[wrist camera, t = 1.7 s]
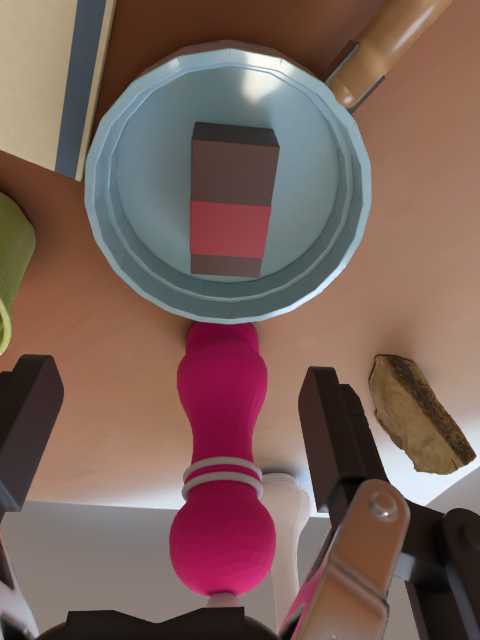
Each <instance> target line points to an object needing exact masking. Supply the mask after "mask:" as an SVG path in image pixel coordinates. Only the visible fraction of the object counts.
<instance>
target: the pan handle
mask: <svg viewBox="0 0 480 640" xmlns="http://www.w3.org/2000/svg"><path fill="white" fill-rule="evenodd" d="M452 1H453V0H386V1H385V3H384V4H383V5H382V6H381V7H380V9H379V10H378V11H377V12H376V13H375V15H374V16H373V17H372V18H371V19H370V21H369V22H368V23H367V24H366V25H365V27H364V28H363V29H362V30H361V31H360V33H359V34H358V35H357V36H356V37H355V39H354V40H350V41H349V42H348V43H347V44H346V46H345V47H344V48H343V49H342V51H341V52H340V53H339V54H338V55H337V57H336V58H335V59H334V60H333V61H332V63H331V64H330V65H329V66H328V67H327V69H326V70H325V71H324V72H323V73H322V75H321V76H320V77H319V79H320V80H321V81H323V82H324V83H325V84H326V85H327V86H328V87H329V89H330V90H331V91H332V92H333V94H334V96H335V99H336V101H337V102H338V103H339V104H340V105H342V106H344V107H345V108H346V110H347V111H348V112H349V113H350V114H352V113H353V112H354V111H355V110H356V109H357V108H358V107H359V106H360V105H361V104H362V103H363V101H364V100H365V99H366V98H367V97H368V96H369V95H370V94H371V93H372V92H373V91H374V90H375V89H376V88H377V86H378V85H379V84H380V83H381V82H382V81H383V80H384V79H385V77H384V75H385V74H386V73H387V72H388V71H389V70H390V68H391V67H392V66H393V65H394V64H395V63H396V62H397V61H398V60H399V59H400V58H401V57H402V55H403V54H404V53H405V52H406V51H407V50H408V49H409V48H410V47H411V46H412V45H413V44H414V43H415V41H416V40H417V39H418V38H419V37H420V36H421V35H422V34H423V33H424V32H425V31H426V30H427V28H428V27H429V26H430V25H431V24H432V23H433V22H434V21H435V20H436V19H437V18H438V17H439V16H440V14H441V13H442V12H443V11H444V10H445V9H446V8H447V7H448V6H449V5H450V4H451V3H452ZM317 96H318V95H317ZM318 97H319V96H318ZM319 98H320V97H319ZM320 99H321V98H320ZM321 100H322V99H321ZM322 101H323V100H322ZM325 105H326V104H325ZM326 106H327V105H326ZM327 107H328V106H327Z"/></svg>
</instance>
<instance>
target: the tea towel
mask: <svg viewBox="0 0 480 640" xmlns="http://www.w3.org/2000/svg"><path fill="white" fill-rule="evenodd" d="M116 2H117V0H0V150H2V151H4V152H7V153H9V154H12V155H14V156H17V157H19V158H22V159H24V160H27V161H29V162H32V163H34V164H37V165H39V166H42V167H44V168H47V169H49V170H52V171H54V172H57V173H59V174H62V175H64V176H67V177H69V178H72V179H74V180H77V181H79V182H81V180H82V179H83V176H84V171H85V162H86V158H87V155H88V150H89V145H90V139H91V134H92V129H93V123H94V118H95V113H96V108H97V102H98V97H99V92H100V86H101V81H102V76H103V71H104V65H105V60H106V55H107V49H108V44H109V39H110V34H111V28H112V23H113V18H114V12H115V7H116Z"/></svg>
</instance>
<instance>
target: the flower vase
mask: <svg viewBox="0 0 480 640" xmlns="http://www.w3.org/2000/svg"><path fill="white" fill-rule="evenodd" d="M261 484H262V486H263V495H262V497H261V498H260V499H259V501H260V502H261V503H262V504H263V505H264V506H265V507H266V509H267V510H268V512H269V513H270V515H271V517H272V519H273V521H274V525H275V531H276V550H275V557H274V560H273V563H272V566H271V573H272V580H273V589H274V597H275V607H276V635H278V632H279V630H280V628H281V626H282V624H283V622H284V620H285V618H286V615H287V613H288V611H289V609H290V607H291V605H292V603H293V601H294V600H295V598H296V596H297V594H298V593H299V582H298V572H297V545H298V540H299V536H300V533H301V530H302V529H303V528H304V526H305V524H306V523H307V521H308V519H309V516H310V513H311V506H312V504H311V499H310V497H309V495H308V493H307V492H306V491H305V490H304V489H303V488H302V487H301V486H299V485H298V484H297V482H296V479H295V478H294V477H293V476H292V475H289V474H286V473H269V474H265V475H262V480H261Z"/></svg>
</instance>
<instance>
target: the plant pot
mask: <svg viewBox="0 0 480 640" xmlns="http://www.w3.org/2000/svg"><path fill="white" fill-rule="evenodd" d="M35 246H36V235H35V230H34V228H33V226H32V224H31V223H30V222H29V221H28V220H27V218H26V217H25V215H24V214H23V212H22V211H21V209H20V208H19V206H18V205H17V204H16V203H15V202H14V201H13V200H12V199H11V198H9V197H8V196H6V195H5V194H3V193H2V192H0V355H1V354H2V353H3V352H4V351H5V349H6V348H7V346H8V344H9V342H10V339H11V335H12V320H11V315H12V303H13V301H14V298H15V296H16V293H17V291H18V288H19V286H20V283H21V281H22V278H23V276H24V273H25V271H26V268H27V266H28V264H29V261H30V259H31V257H32V254H33V252H34V249H35Z"/></svg>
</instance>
